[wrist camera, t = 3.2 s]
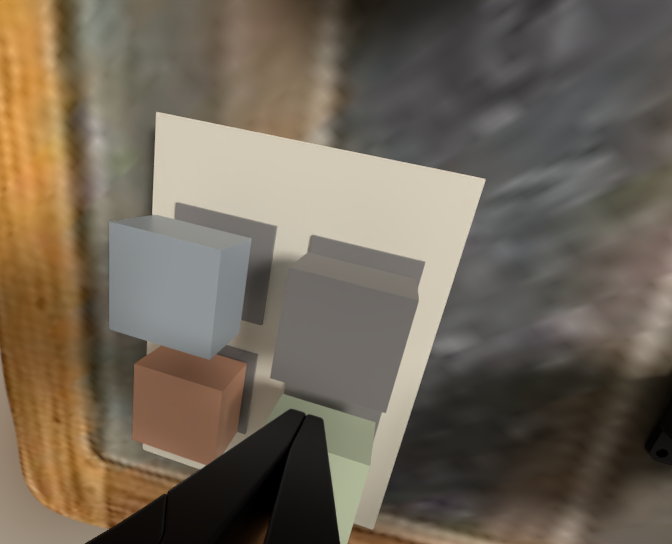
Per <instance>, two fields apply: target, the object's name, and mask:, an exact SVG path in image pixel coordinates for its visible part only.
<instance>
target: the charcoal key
mask: <svg viewBox="0 0 672 544" xmlns="http://www.w3.org/2000/svg"><path fill="white" fill-rule="evenodd" d="M418 302H419V296H418V287H417V279H414V278H410V277H406V276H401V275H397V274H393V273H389V272H385V271H381V270H377V269H373V268H369V267H365V266H361V265H357V264H353V263H349V262H345V261H341V260H337V259H333V258H329V257H325V256H321V255H317V254H313V253H309V252H308V253H307V254H305V255H304V256H303V257H301V258H300V259H299V260H297V261H296V262H295V263H293V264H292V265H291V266H289V267H288V272H287V278H286V284H285V290H284V296H283V302H282V308H281V315H280V321H279V327H278V333H277V339H276V345H275V351H274V357H273V363H272V369H271V375H270V378H271V379H274V380H278V381H281V382H284V383H287V384H291V385H294V386H297V387H301V388H304V389H307V390H311V391H314V392H317V393H320V394H324V395H327V396H330V397H334V398H337V399H340V400H343V401H347V402H350V403H353V404H357V405H360V406H363V407H367V408H370V409H373V410H376V411H380V412H383V413H386V411H387V408H388V404H389V401H390V397H391V394H392V391H393V387H394V384H395V380H396V377H397V374H398V370H399V367H400V363H401V360H402V357H403V353H404V350H405V346H406V343H407V340H408V336H409V333H410V329H411V326H412V323H413V319H414V316H415V313H416V309H417V306H418Z"/></svg>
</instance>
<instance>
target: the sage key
mask: <svg viewBox="0 0 672 544" xmlns="http://www.w3.org/2000/svg"><path fill="white" fill-rule="evenodd" d="M289 409H295V410H299V411H302V412H304V413H305V414H306V415H308V414H311V415H315V416H318V417H321V418H322V419H323V420H324V426H325V434H326V441H327V449H328V456H329V463H330V471H331V478H332V486H333V493H334V501H335V508H336V516H337V523H338V531H339V538H340V544H347V543H348V540H349V536H350V533H351V530H352V526H353V523H354V520H355V516H356V513H357V509H358V506H359V503H360V499H361V496H362V492H363V489H364V486H365V482H366V479H367V475H368V472H369V469H370V464H371V456H372V448H373V440H374V432H375V423H376V422H373V421H370V420H366V419H363V418H360V417H357V416H353V415H350V414H347V413H344V412H340V411H337V410H334V409H331V408H327V407H324V406H321V405H318V404H314V403H311V402H308V401H305V400H301V399H298V398H295V397H292V396H288V395H285V394H282V395H281V397H280V399H279V401H278V402H277V404H276V406H275V408H274V409H273V411H272V413H271V415H270V416H269V418H268V420H267V421H266V423H265V425H266V424H268V423H269V422H271V421H272V420H274V419H275V418H277V417H278V416H280V415H281V414H283V413H284V412H286V411H287V410H289ZM265 425H264V426H265Z"/></svg>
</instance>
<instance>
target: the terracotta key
mask: <svg viewBox="0 0 672 544" xmlns="http://www.w3.org/2000/svg"><path fill="white" fill-rule="evenodd" d="M246 366H247V363H244V362H241V361H237V360H234V359H231V358H227V357H224V356H221V355H217V354H216V355H215V356H214V357H213V358H212V359H211V360H208V359H205V358H202V357H198V356H195V355H192V354H188V353H185V352H182V351H179V350H175V349H172V348H169V347H165V346H162V345H161V346H160V347H158V348H157V349H155V350H154V351H153V352H151V353H150V354H148V355H147V356H145V357H144V358H142V359H141V360H139V361H138V362H136V363H135V364H134V397H133V434H132V440H135V441H138V442H140V443H143V444H146V445H149V446H152V447H155V448H158V449H161V450H163V451H166V452H169V453H172V454H175V455H178V456H181V457H184V458H186V459H189V460H192V461H195V462H198V463H201V464H204V465H207V464H209V463H210V462H212V461H213V460H215V459H216V458H218V457H219V456H221V455H222V454H223V453H224V451H225V450H226V448H227V447H228V445H229V444H230V442H231V441H232V439H233V438H234V436H235V435H236V433H237V430H238V423H239V416H240V408H241V401H242V394H243V387H244V380H245V373H246Z"/></svg>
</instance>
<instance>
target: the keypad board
mask: <svg viewBox="0 0 672 544" xmlns="http://www.w3.org/2000/svg"><path fill="white" fill-rule="evenodd" d="M485 180H486V179H483V178H478V177H473V176H468V175H463V174H459V173H454V172H449V171H444V170H439V169H434V168H429V167H424V166H419V165H414V164H410V163H405V162H400V161H395V160H390V159H385V158H380V157H375V156H370V155H365V154H361V153H356V152H351V151H346V150H341V149H336V148H331V147H326V146H321V145H316V144H312V143H307V142H302V141H297V140H292V139H287V138H282V137H277V136H272V135H267V134H263V133H258V132H253V131H248V130H243V129H238V128H233V127H228V126H223V125H218V124H214V123H209V122H204V121H199V120H194V119H189V118H184V117H179V116H174V115H169V114H165V113H160V112H156V130H155V156H154V181H153V207H152V215H160V216H164V217H168V218H172V219H176V220H180V221H184V222H188V223H192V224H196V225H200V226H204V227H208V228H212V229H216V230H220V231H224V232H228V233H232V234H236V235H240V236H244V237H248V238H252V240H251V247H250V255H249V263H248V271H247V278H246V286H245V294H244V302H243V309H242V317H241V325H240V333H239V334H238V335H237V336H235V337H234V338H233V339H232V340H231V341H230V342H229V343H228V344H227V345H226V346H225V347H224V348H222V349H221V350H220V351H219V352H218V353H217V355H221V356H224V357H227V358H231V359H234V360H237V361H241V362H244V363H247V366H246V373H245V380H244V387H243V394H242V401H241V408H240V416H239V423H238V430H237V433H236V435H235V436H234V438H233V439H232V441H231V442H230V444H229V445H228V447H227V448H226V450H225V451H224V453H225V452H227V451H228V450H229V449H231V448H232V447H234V446H235V445H237V444H238V443H240V442H241V441H243V440H244V439H246V438H247V437H249V436H250V435H252V434H253V433H255V432H256V431H258V430H259V429H260V428H262V427H263V426H264V425H265V423H266V421H267V420H268V418H269V416H270V415H271V413H272V411H273V409H274V408H275V406H276V404H277V402H278V401H279V399H280V397H281V395H282V394H285V395H288V396H292V397H295V398H298V399H301V400H305V401H308V402H311V403H314V404H318V405H321V406H324V407H327V408H331V409H334V410H337V411H340V412H344V413H347V414H350V415H353V416H357V417H360V418H363V419H366V420H370V421H373V422H376V423H375V432H374V440H373V448H372V456H371V464H370V469H369V472H368V475H367V479H366V482H365V486H364V489H363V492H362V496H361V499H360V503H359V506H358V509H357V513H356V516H355V520H354V524H357V525H360V526H363V527H366V528H369V529H372V530H373V529H374V526H375V523H376V519H377V516H378V513H379V510H380V507H381V504H382V501H383V498H384V495H385V491H386V488H387V485H388V482H389V479H390V476H391V473H392V470H393V466H394V463H395V460H396V457H397V454H398V451H399V448H400V445H401V442H402V438H403V435H404V432H405V429H406V426H407V423H408V420H409V417H410V414H411V410H412V407H413V404H414V401H415V398H416V395H417V392H418V389H419V385H420V382H421V379H422V376H423V373H424V370H425V367H426V364H427V361H428V357H429V354H430V351H431V348H432V345H433V342H434V339H435V336H436V333H437V329H438V326H439V323H440V320H441V317H442V314H443V311H444V308H445V304H446V301H447V298H448V295H449V292H450V289H451V286H452V283H453V280H454V276H455V273H456V270H457V267H458V264H459V261H460V258H461V255H462V251H463V248H464V245H465V242H466V239H467V236H468V233H469V230H470V227H471V223H472V220H473V217H474V214H475V211H476V208H477V205H478V202H479V199H480V195H481V192H482V189H483V186H484V183H485ZM308 252H309V253H313V254H317V255H321V256H325V257H329V258H333V259H337V260H341V261H345V262H349V263H353V264H357V265H361V266H365V267H369V268H373V269H377V270H381V271H385V272H389V273H393V274H397V275H401V276H406V277H410V278H414V279H417V287H418V296H419V302H418V306H417V309H416V313H415V316H414V319H413V323H412V326H411V329H410V333H409V336H408V340H407V343H406V346H405V350H404V353H403V357H402V360H401V363H400V367H399V370H398V374H397V377H396V380H395V384H394V387H393V391H392V394H391V397H390V401H389V404H388V408H387V411H386V413H383V412H380V411H376V410H373V409H370V408H367V407H363V406H360V405H357V404H353V403H350V402H347V401H343V400H340V399H337V398H334V397H330V396H327V395H324V394H320V393H317V392H314V391H311V390H307V389H304V388H301V387H297V386H294V385H291V384H287V383H284V382H281V381H278V380H274V379H271V378H270V375H271V369H272V363H273V357H274V351H275V345H276V339H277V333H278V327H279V321H280V315H281V308H282V302H283V296H284V290H285V284H286V278H287V272H288V267H289V266H291V265H292V264H293V263H295V262H296V261H297V260H299V259H300V258H301V257H303V256H304V255H305V254H307V253H308ZM160 346H161V345H159V344H155V343H152V342H149V341H147V355H148V354H150V353H151V352H153V351H154V350H155V349H157V348H158V347H160ZM143 450H146V451H149V452H152V453H155V454H157V455H160V456H163V457H166V458H169V459H172V460H175V461H177V462H180V463H183V464H186V465H189V466H192V467H195V468H197V469H201V468H203V467H204V466H206V465H204V464H201V463H198V462H195V461H192V460H189V459H186V458H184V457H181V456H178V455H175V454H172V453H169V452H166V451H163V450H161V449H158V448H155V447H152V446H149V445H146V444H143ZM224 453H223V454H224Z"/></svg>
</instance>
